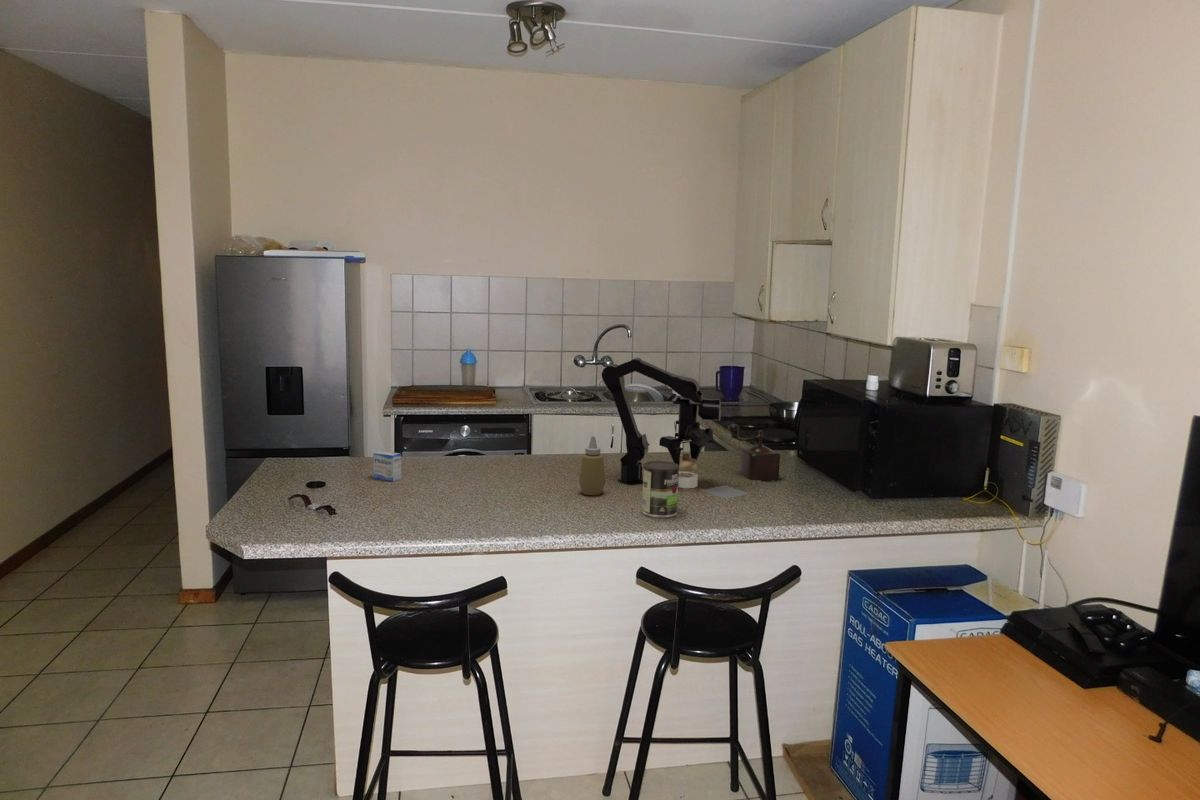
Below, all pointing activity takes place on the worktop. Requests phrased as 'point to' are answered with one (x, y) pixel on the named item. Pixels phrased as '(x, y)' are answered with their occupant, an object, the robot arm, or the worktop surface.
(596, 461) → the squeeze bottle
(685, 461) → the lid
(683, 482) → the bowl
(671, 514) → the coffee can
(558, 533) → the worktop surface
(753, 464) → the manual coffee grinder
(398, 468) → the medicine box
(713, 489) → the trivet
